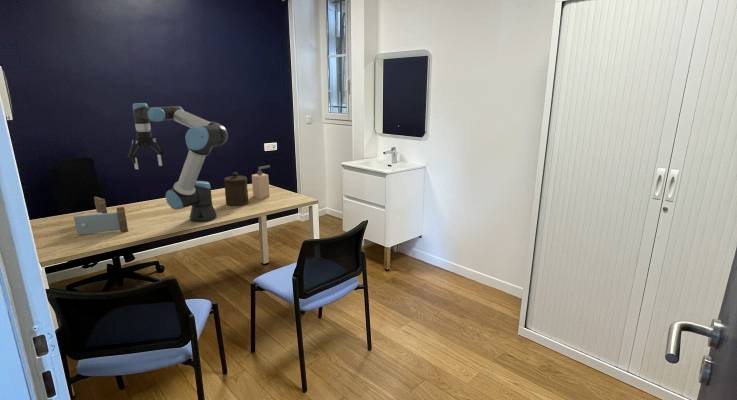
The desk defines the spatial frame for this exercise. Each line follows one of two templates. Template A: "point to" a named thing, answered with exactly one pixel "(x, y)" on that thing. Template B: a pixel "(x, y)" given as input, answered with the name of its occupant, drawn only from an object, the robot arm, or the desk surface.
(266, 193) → the soap dispenser
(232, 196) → the wooden container
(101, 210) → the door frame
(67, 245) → the desk surface
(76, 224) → the door
